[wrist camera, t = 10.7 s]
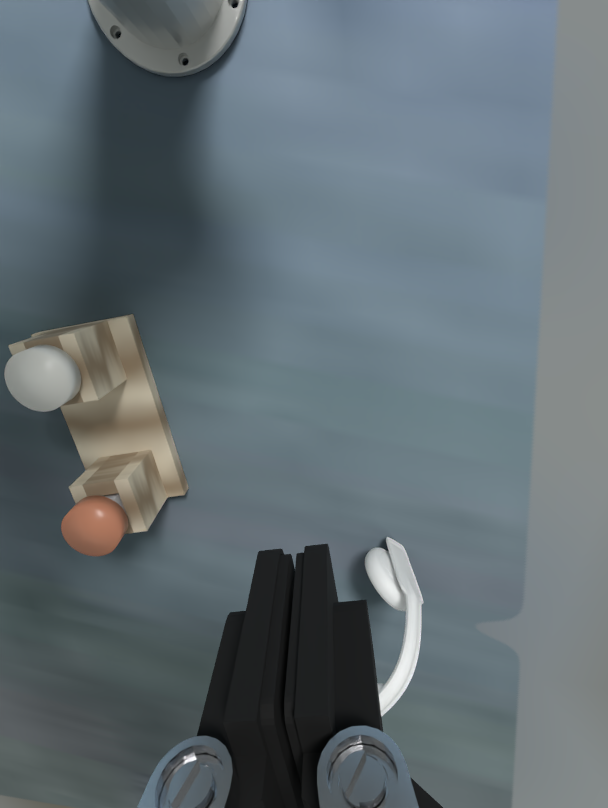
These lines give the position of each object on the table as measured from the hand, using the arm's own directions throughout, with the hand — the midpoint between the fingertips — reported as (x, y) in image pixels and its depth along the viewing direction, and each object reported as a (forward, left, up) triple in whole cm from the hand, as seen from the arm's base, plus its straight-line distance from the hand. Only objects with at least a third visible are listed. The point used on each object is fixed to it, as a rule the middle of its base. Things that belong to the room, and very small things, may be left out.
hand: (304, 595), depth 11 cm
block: (+6, -23, -35) cm, 42 cm away
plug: (-1, -23, -33) cm, 40 cm away
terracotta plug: (+13, -23, -32) cm, 41 cm away
